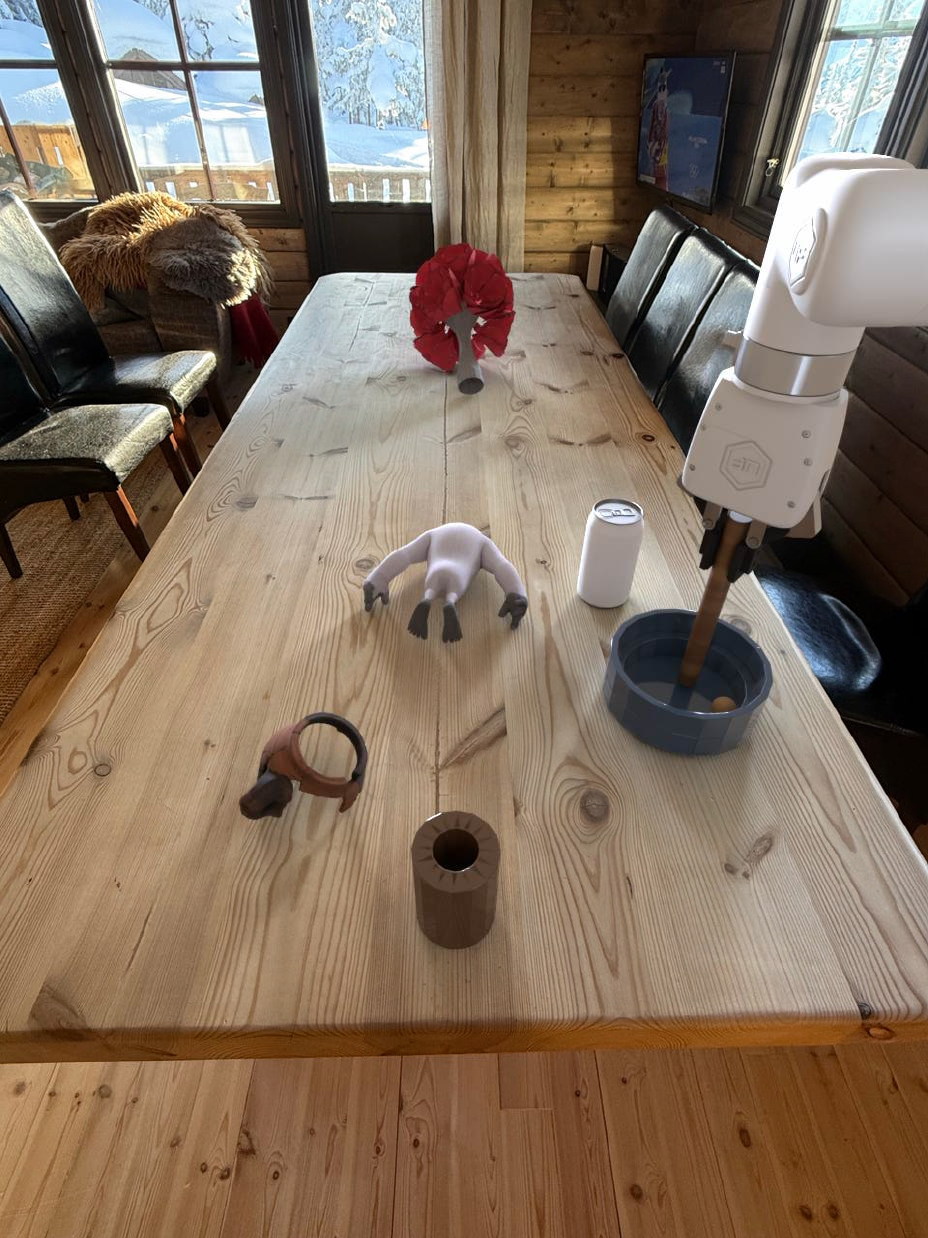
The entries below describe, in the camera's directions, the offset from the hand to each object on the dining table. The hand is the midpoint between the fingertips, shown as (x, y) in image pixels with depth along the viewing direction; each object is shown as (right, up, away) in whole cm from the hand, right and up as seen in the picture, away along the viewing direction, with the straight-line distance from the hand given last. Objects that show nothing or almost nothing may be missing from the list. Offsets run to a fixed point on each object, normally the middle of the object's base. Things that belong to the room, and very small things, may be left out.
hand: (723, 568), depth 59 cm
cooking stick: (0, -11, +10) cm, 15 cm away
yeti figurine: (-25, -1, +23) cm, 34 cm away
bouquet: (-24, +47, +79) cm, 95 cm away
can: (-6, -2, +23) cm, 24 cm away
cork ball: (+2, -14, +6) cm, 15 cm away
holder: (-24, -28, -8) cm, 37 cm away
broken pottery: (-38, -21, +1) cm, 43 cm away
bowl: (-1, -13, +9) cm, 16 cm away
